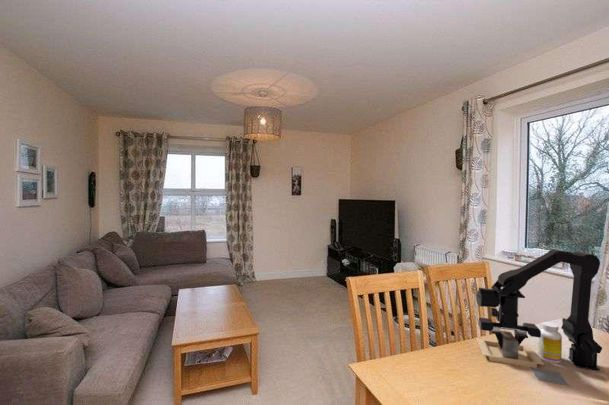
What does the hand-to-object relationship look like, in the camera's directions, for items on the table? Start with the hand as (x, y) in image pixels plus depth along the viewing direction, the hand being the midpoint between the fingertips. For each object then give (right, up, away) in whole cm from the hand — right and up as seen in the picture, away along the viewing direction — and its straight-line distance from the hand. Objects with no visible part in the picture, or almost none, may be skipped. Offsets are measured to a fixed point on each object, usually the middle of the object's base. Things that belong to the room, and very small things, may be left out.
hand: (507, 349), depth 115 cm
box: (0, -2, 0) cm, 2 cm away
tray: (0, -3, 0) cm, 2 cm away
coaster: (+5, -3, -13) cm, 14 cm away
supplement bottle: (+14, -3, -2) cm, 15 cm away
